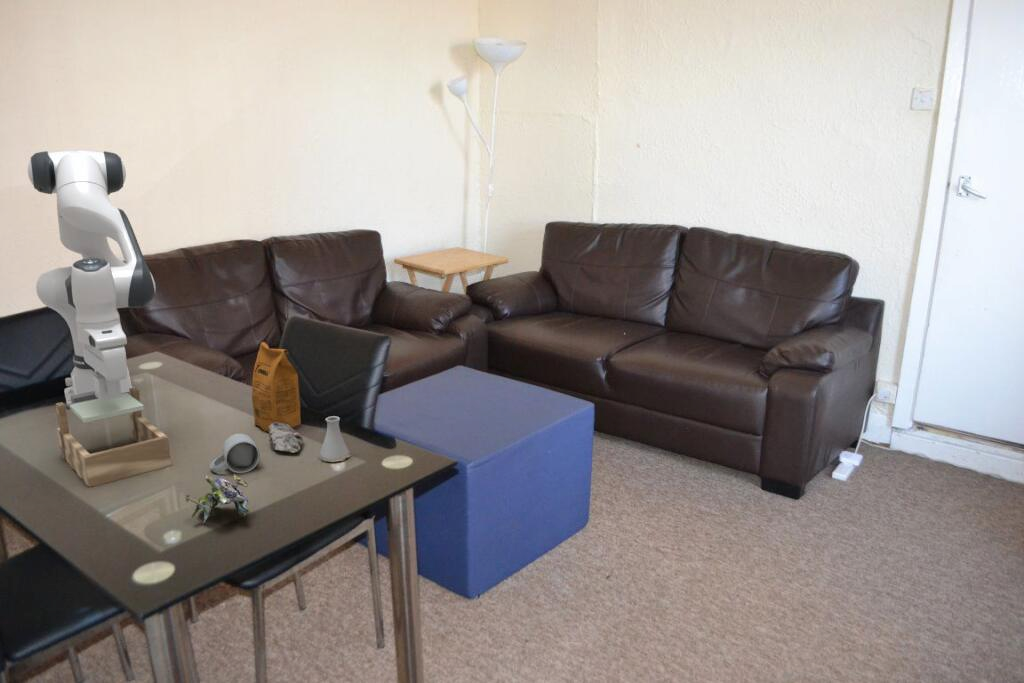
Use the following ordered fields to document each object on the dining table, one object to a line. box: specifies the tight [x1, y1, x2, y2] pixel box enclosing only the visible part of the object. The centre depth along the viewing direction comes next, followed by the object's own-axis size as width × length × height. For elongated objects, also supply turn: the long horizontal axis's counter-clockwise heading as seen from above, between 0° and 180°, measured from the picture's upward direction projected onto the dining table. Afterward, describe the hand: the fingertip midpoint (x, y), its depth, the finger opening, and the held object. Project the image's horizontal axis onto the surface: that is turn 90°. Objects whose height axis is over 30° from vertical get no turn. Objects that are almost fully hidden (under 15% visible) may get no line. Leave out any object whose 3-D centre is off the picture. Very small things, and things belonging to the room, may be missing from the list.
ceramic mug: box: [209, 433, 261, 474], centre depth 189 cm, size 11×8×8 cm
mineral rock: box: [268, 422, 303, 453], centre depth 203 cm, size 15×8×4 cm, turn 15°
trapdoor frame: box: [55, 386, 172, 488], centre depth 192 cm, size 23×18×14 cm
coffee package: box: [251, 341, 302, 433], centre depth 213 cm, size 10×12×22 cm
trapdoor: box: [65, 391, 145, 424], centre depth 193 cm, size 16×14×3 cm
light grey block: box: [93, 373, 122, 401], centre depth 188 cm, size 4×4×5 cm
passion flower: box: [184, 473, 249, 526], centre depth 165 cm, size 11×11×12 cm
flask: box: [318, 415, 350, 460], centre depth 195 cm, size 7×7×10 cm
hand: (107, 389), depth 188 cm, fingers closed on light grey block, 4 cm apart
